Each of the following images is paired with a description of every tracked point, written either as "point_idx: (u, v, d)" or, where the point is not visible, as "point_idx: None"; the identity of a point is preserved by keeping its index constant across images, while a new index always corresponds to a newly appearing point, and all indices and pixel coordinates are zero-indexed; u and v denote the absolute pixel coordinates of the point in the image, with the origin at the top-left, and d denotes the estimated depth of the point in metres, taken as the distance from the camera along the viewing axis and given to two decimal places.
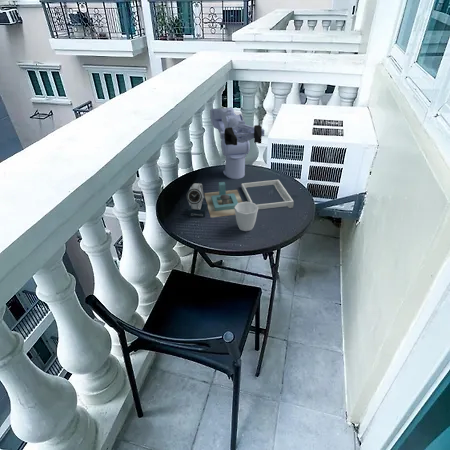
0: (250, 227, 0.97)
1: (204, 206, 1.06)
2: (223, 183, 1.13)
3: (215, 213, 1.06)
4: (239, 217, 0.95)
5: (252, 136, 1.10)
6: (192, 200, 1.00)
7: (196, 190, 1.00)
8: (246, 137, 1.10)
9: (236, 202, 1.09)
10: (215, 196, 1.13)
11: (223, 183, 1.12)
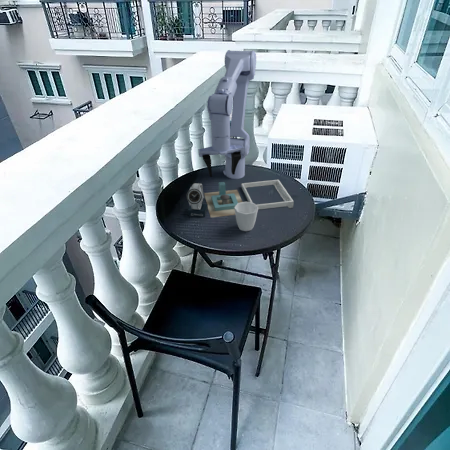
0: (250, 227, 0.97)
1: (204, 206, 1.06)
2: (223, 183, 1.13)
3: (215, 213, 1.06)
4: (239, 217, 0.95)
5: None
6: (192, 200, 1.00)
7: (196, 190, 1.00)
8: None
9: (236, 202, 1.09)
10: (215, 196, 1.13)
11: (223, 183, 1.12)
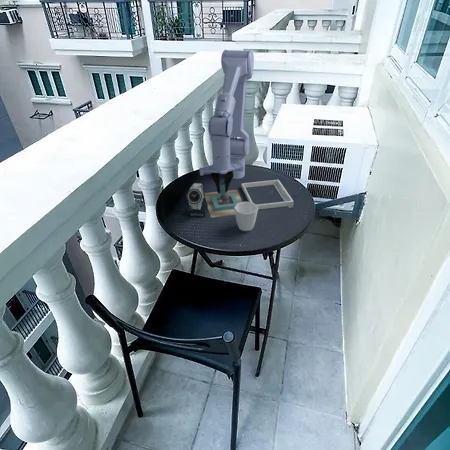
0: (250, 227, 0.97)
1: (204, 206, 1.06)
2: (223, 183, 1.13)
3: (215, 213, 1.06)
4: (239, 217, 0.95)
5: None
6: (192, 200, 1.00)
7: (196, 190, 1.00)
8: None
9: (236, 202, 1.09)
10: (215, 196, 1.13)
11: (223, 183, 1.12)
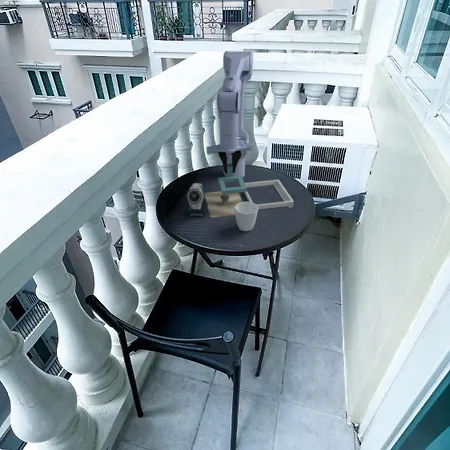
0: (250, 227, 0.97)
1: (204, 206, 1.06)
2: (231, 164, 1.09)
3: (215, 213, 1.06)
4: (239, 217, 0.95)
5: None
6: (192, 200, 1.00)
7: (196, 190, 1.00)
8: None
9: (244, 185, 1.07)
10: (221, 178, 1.10)
11: (230, 165, 1.09)
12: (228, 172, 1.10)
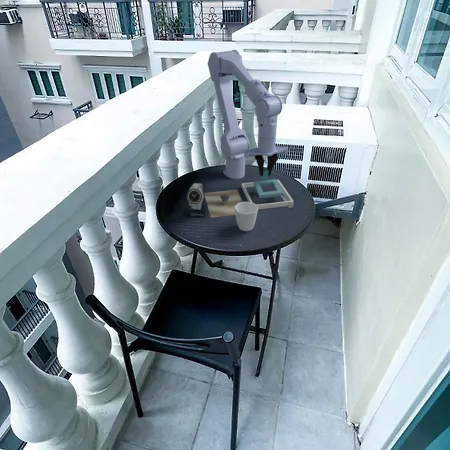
0: (250, 227, 0.97)
1: (204, 206, 1.06)
2: (267, 168, 1.12)
3: (215, 213, 1.06)
4: (239, 217, 0.95)
5: None
6: (192, 200, 1.00)
7: (196, 190, 1.00)
8: None
9: (280, 189, 1.10)
10: (257, 182, 1.13)
11: (266, 169, 1.12)
12: (264, 176, 1.13)
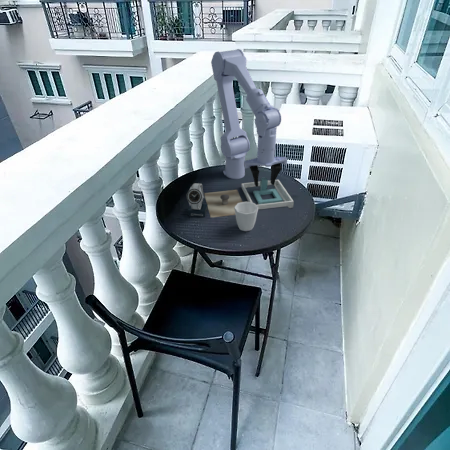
0: (250, 227, 0.97)
1: (204, 206, 1.06)
2: (265, 178, 1.15)
3: (215, 213, 1.06)
4: (239, 217, 0.95)
5: None
6: (192, 200, 1.00)
7: (196, 190, 1.00)
8: None
9: (279, 197, 1.12)
10: (257, 191, 1.15)
11: (265, 178, 1.15)
12: (263, 185, 1.15)
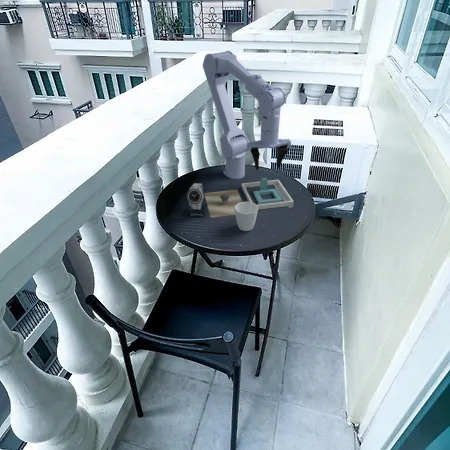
0: (250, 227, 0.97)
1: (204, 206, 1.06)
2: (265, 178, 1.15)
3: (215, 213, 1.06)
4: (239, 217, 0.95)
5: None
6: (192, 200, 1.00)
7: (196, 190, 1.00)
8: None
9: (279, 197, 1.12)
10: (257, 191, 1.15)
11: (265, 178, 1.15)
12: (263, 185, 1.15)
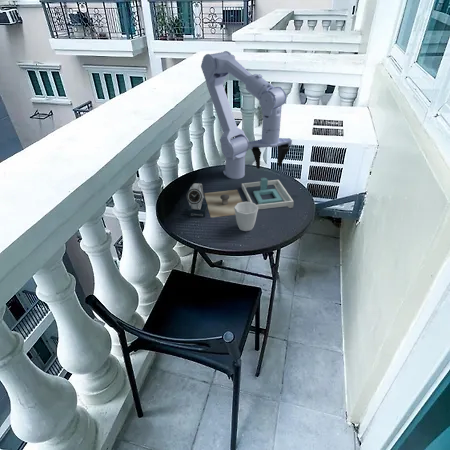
0: (250, 227, 0.97)
1: (204, 206, 1.06)
2: (265, 178, 1.15)
3: (215, 213, 1.06)
4: (239, 217, 0.95)
5: None
6: (192, 200, 1.00)
7: (196, 190, 1.00)
8: None
9: (279, 197, 1.12)
10: (257, 191, 1.15)
11: (265, 178, 1.15)
12: (263, 185, 1.15)
